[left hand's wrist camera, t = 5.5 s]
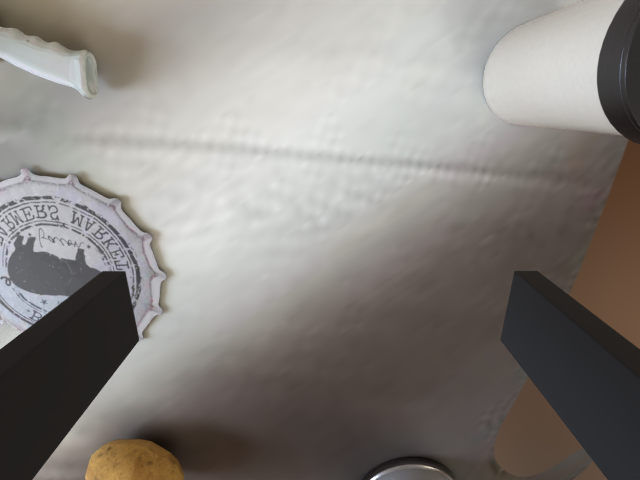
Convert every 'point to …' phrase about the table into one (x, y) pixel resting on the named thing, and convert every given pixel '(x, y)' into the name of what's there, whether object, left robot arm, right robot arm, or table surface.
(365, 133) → the table surface
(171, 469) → the potato
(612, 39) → the lid
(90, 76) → the tape dispenser
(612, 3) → the jar
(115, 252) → the decorative wall hanging
